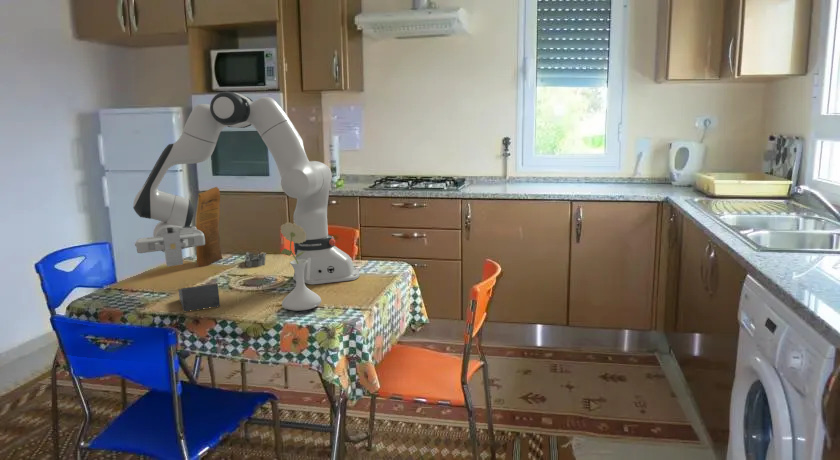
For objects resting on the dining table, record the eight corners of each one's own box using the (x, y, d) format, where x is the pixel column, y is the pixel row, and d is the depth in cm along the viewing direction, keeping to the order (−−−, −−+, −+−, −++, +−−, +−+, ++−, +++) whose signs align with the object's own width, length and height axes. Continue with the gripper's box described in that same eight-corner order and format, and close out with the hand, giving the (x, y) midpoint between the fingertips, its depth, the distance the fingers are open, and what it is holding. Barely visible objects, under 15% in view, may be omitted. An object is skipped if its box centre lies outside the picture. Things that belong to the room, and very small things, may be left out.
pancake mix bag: (232, 256, 250) (225, 186, 244) (206, 268, 231) (198, 193, 226) (216, 255, 251) (209, 186, 246) (189, 268, 233) (181, 193, 227)
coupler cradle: (179, 299, 194) (177, 278, 193) (213, 294, 198) (211, 273, 197) (184, 312, 182) (181, 289, 181) (219, 306, 186) (217, 284, 185)
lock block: (166, 263, 196) (161, 227, 193) (181, 260, 197) (177, 225, 195) (167, 266, 191) (162, 230, 188) (183, 264, 192) (179, 228, 190)
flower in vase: (330, 306, 183) (324, 221, 178) (298, 316, 175) (291, 228, 170) (302, 298, 192) (296, 217, 187) (270, 308, 183) (263, 223, 178)
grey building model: (247, 261, 242) (246, 250, 241) (267, 259, 243) (266, 249, 242) (244, 268, 231) (243, 257, 231) (264, 266, 232) (264, 255, 232)
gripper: (133, 233, 200) (134, 241, 188) (200, 225, 208) (205, 232, 196) (135, 252, 201) (137, 261, 189) (202, 244, 209) (208, 252, 197)
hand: (172, 246), depth 192 cm, fingers closed on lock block, 5 cm apart
